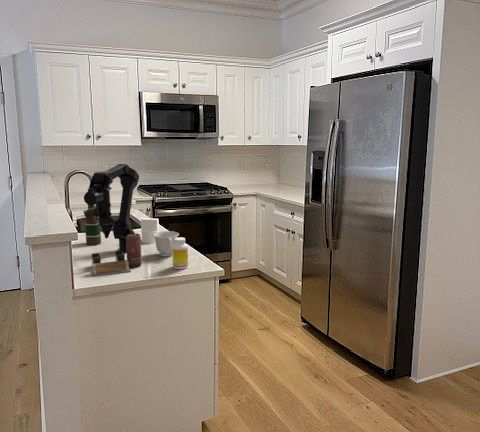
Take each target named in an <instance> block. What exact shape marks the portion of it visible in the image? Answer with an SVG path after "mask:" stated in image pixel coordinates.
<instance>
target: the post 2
mask: <svg viewBox="0 0 480 432" xmlns="http://www.w3.org/2000/svg"><path fill="white" fill-rule="evenodd" d="M125 257H126V255H125V253H124V252H123V251H118V250H116V251H115V261H123V260H126V259H125Z"/></svg>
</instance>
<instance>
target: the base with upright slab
mask: <svg viewBox="0 0 480 432" xmlns="http://www.w3.org/2000/svg"><path fill="white" fill-rule="evenodd" d="M159 224H160V223H159V218H153V217H152V218H150V217H147V218H146V217H141V218H140V229H141V232H140V233H141V243H142V244H147V245H148V244H151V245H152V244H156V242H155V237H154V236H153V234H155V233H157V232H160V226H159Z"/></svg>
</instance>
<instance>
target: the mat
mask: <svg viewBox="0 0 480 432" xmlns="http://www.w3.org/2000/svg"><path fill="white" fill-rule="evenodd" d="M124 273H131V268H129V270H120V271H112V272H104V273H96V274H94V273H93V269H92V270H91V274H92V278H93V277H100V276H109V275H117V274H118V275H119V274H124Z"/></svg>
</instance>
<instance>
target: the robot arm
mask: <svg viewBox="0 0 480 432" xmlns="http://www.w3.org/2000/svg"><path fill="white" fill-rule="evenodd" d="M116 178H118V179H120V181H119V182H120V185H121V188H122V193H121V200H120V208H119V215H118V218H117V219H114V217H113V216H112V212H111V211H112V209H111V207H112V205H111V204H112V203H111V196H110V194H111V193H110V190H112V187H111V184H113V183H114V179H116ZM139 181H140V175H139V173H138V171H136V170H135V169H134V168H132V167H130V166H129V165H128V164H126V163H117V164H116V165H115V166H113V167H111V168H109V169H108V170H103V171H95V172H94V173H93V175H92V176H91V179H90V183H89V185H88V188H87V191H86V192H85V194H84V196H83V200H84V202H85V204H86V205H87V206H88V205H94V204H95V207H93V208H90V209H88V208H87V209H86V210H83V212H82V213H83V215H84V217H85V218H86V219H87V220H88V219H90V218H92V217H94V216H95V217H96V219H97V220H98V222H99V225H100V230H101V232H102V234H103V235H104V239H108V238H109V236H110V233H111V231H112V234H113V238H114V240H118V248H117V251H123V253H127V249H126V236H127V235H128V234H133V233H136V232H135V230H134V229H133V228H132V227H133V225H132V222H131V219H130V217H131V209H132V202H133V194H134V189H135V188H136V187H137V186H138V182H139Z"/></svg>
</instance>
